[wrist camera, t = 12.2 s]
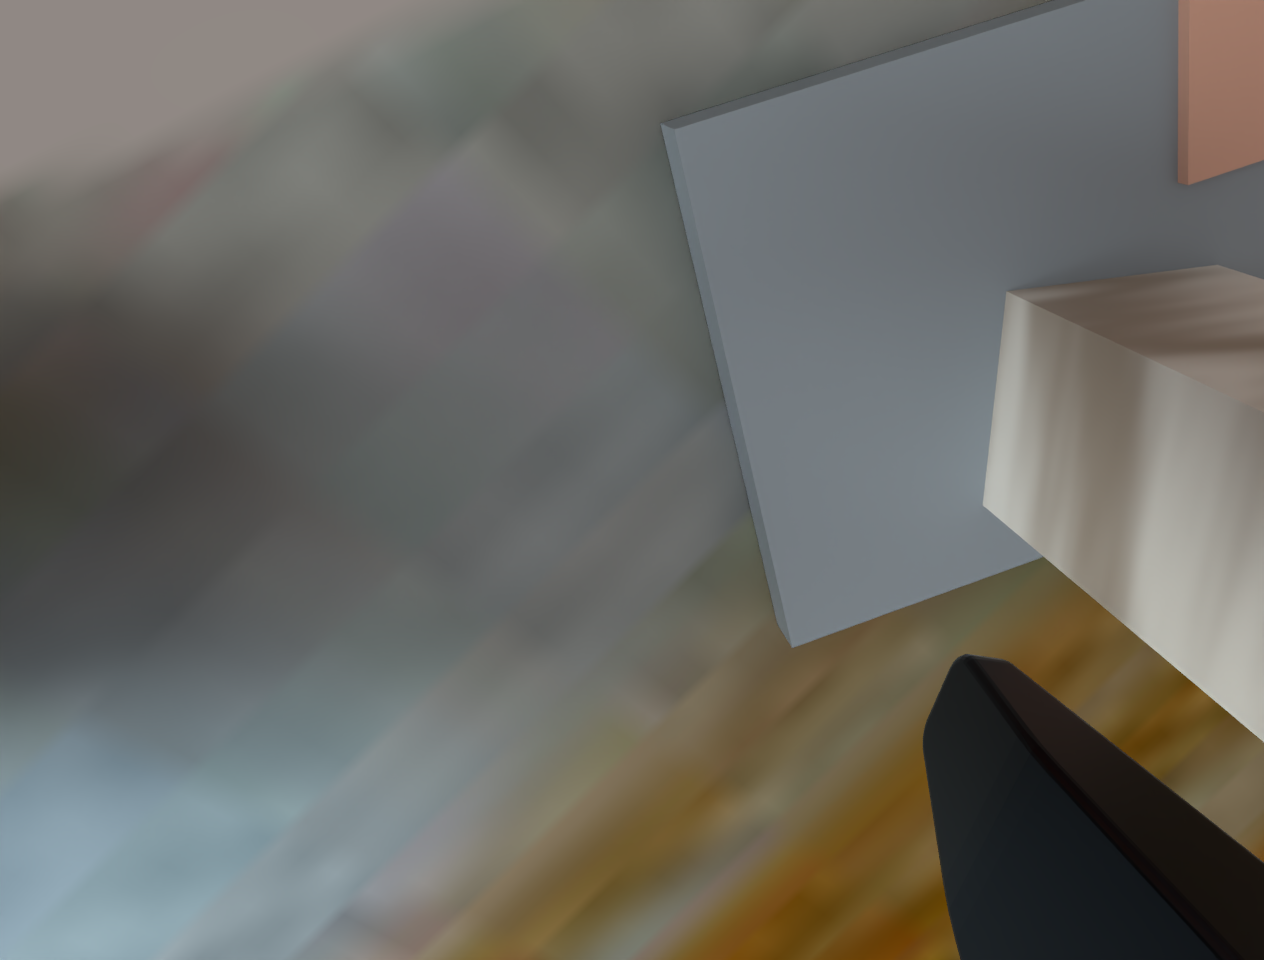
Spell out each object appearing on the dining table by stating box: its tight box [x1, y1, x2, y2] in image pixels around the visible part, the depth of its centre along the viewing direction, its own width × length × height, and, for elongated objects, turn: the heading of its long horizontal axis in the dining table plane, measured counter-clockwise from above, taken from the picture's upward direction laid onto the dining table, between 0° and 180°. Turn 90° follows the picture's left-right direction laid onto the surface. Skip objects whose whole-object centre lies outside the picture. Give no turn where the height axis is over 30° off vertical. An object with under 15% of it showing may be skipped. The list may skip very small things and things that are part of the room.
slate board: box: [660, 0, 1264, 648], centre depth 22 cm, size 14×12×1 cm
